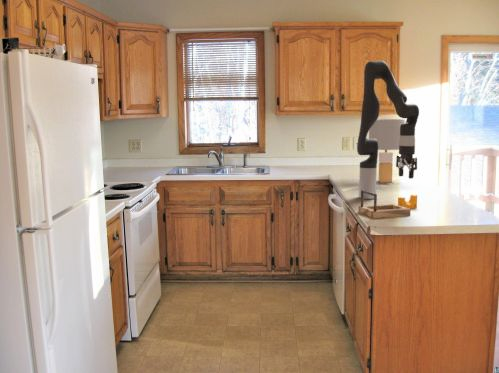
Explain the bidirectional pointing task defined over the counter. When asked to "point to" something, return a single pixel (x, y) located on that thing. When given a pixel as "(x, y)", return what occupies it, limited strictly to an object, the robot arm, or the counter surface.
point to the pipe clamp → (408, 202)
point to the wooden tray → (382, 208)
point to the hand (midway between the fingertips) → (405, 177)
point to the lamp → (386, 144)
